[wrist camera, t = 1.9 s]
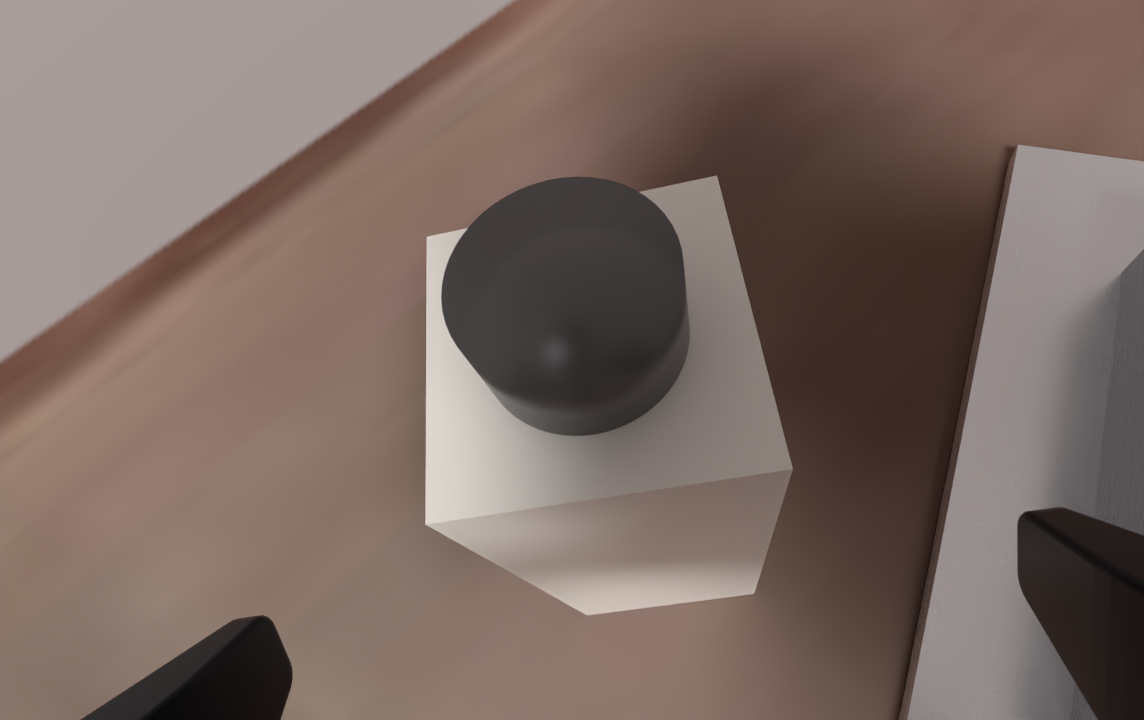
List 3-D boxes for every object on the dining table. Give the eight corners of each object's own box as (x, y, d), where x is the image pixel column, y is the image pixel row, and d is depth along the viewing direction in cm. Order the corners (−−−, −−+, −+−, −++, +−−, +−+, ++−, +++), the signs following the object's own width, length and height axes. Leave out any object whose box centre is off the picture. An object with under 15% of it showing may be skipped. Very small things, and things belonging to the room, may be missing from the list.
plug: (754, 593, 17) (807, 421, 6) (587, 614, 18) (369, 492, 7) (720, 434, 19) (715, 93, 8) (570, 458, 20) (382, 169, 9)
